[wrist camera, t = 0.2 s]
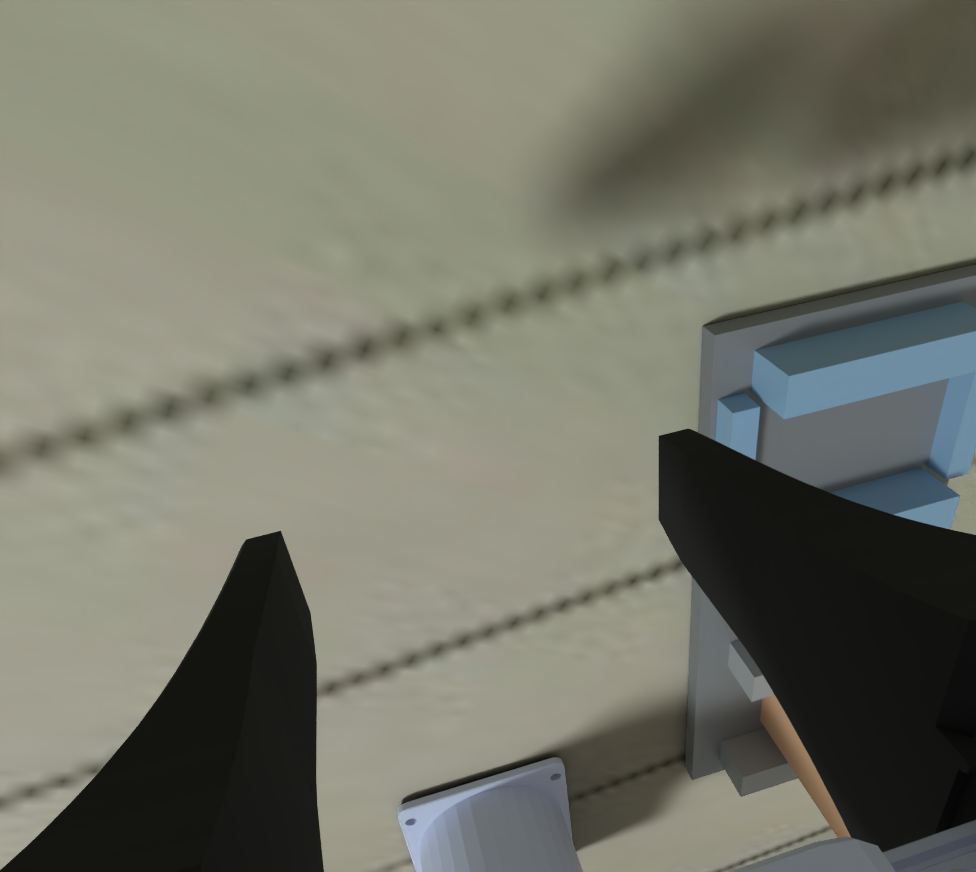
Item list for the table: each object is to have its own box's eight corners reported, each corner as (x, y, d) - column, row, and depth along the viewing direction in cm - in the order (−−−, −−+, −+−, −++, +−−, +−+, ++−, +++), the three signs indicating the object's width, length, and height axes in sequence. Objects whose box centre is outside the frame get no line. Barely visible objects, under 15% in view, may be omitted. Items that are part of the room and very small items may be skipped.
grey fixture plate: (873, 706, 40) (910, 750, 37) (684, 766, 38) (711, 816, 36) (987, 261, 26) (1057, 287, 24) (702, 326, 25) (747, 360, 22)
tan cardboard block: (832, 697, 37) (937, 829, 31) (759, 720, 36) (852, 859, 30) (843, 642, 35) (958, 774, 29) (766, 666, 34) (868, 805, 28)
